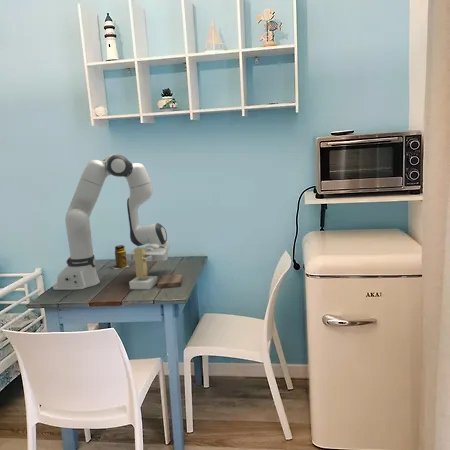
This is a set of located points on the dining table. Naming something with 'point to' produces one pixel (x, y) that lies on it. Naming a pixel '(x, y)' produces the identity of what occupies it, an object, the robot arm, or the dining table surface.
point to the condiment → (120, 257)
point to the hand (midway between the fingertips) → (139, 260)
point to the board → (169, 281)
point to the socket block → (143, 282)
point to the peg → (140, 262)
